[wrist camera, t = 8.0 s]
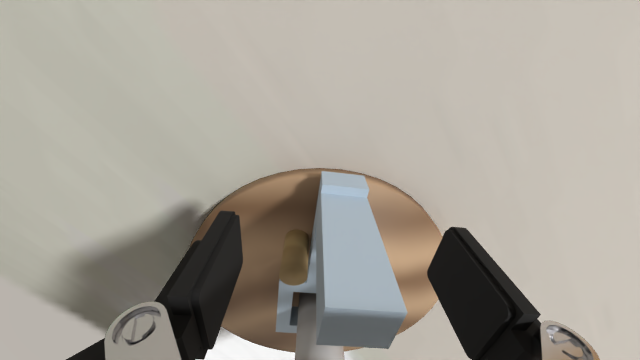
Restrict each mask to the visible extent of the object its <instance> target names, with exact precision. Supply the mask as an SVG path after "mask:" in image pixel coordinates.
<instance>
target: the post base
mask: <svg viewBox="0 0 640 360" xmlns="http://www.w3.org/2000/svg"><path fill="white" fill-rule="evenodd" d="M322 171H327V172H336V173H345V174H354V175H363V176H364V177H365V179H366V182H367V185H368V187H369V193H368V196H367V199H368V202H369V204H370V207H371V210H372V213H373V216H374V219H375V221H376V224H377V227H378V230H379V233H380V236H381V238H382V241H383V244H384V247H385V250H386V253H387V256H388V258H389V261H390V264H391V267H392V270H393V273H394V275H395V278H396V281H397V284H398V287H399V290H400V292H401V295H402V298H403V301H404V304H405V307H406V309H407V312H408V313H407V315H406V317H405V319H404V320H403V322H402V324H401V326H400V328H399V330H398V332H397V334H399V333H401V332H403V331H405V330H406V329H408V328H409V327H411V326H412V325H414V324H415V323H416V322H418V321H419V320H420V319H421V318H422V317H424V316H425V315H426V314H427V313H428V312H429V310H430V309H431V308H432V307H433V306H434V304H435V303H436V302H437V300H438V297H437V295H436V293H435V291H434V289H433V287H432V285H431V283H430V281H429V279H428V276H427V270H428V268H429V266H430V263H431V261H432V259H433V257H434V255H435V253H436V250H437V248H438V246H439V244H440V242H441V240H442V238H443V237H442V235H441V233H440V231H439V229H438V228H437V226H436V225H435V223H434V222H433V221H432V219H431V218H430V216H429V215H428V214H427V213H426V211H425V210H424V209H423V208H422V206H421V205H419V204H418V203H417V202H416V201H415V200H414V199H413V198H412V197H411V196H409V195H408V194H406V193H405V192H403V191H402V190H400V189H399V188H397V187H395V186H393V185H391V184H389V183H387V182H385V181H382V180H380V179H378V178H374V177H371V176H368V175H365V174H362V173H357V172H352V171H346V170H340V169H325V168H315V169H298V170H293V171H287V172H281V173H277V174H274V175H270V176H267V177H264V178H261V179H258V180H256V181H254V182H252V183H249V184H247V185H245V186H243V187H241V188H240V189H238V190H236V191H235V192H233V193H232V194H230V195H229V196H227V197H226V198H225V199H224V200H223V201H221V202H220V203H219V204H218V205H217V206H216V207H215V208H214V209H213V210H212V212H211V213H210V214H209V215H208V216H207V218H206V219H205V220H204V222H203V223H202V225H201V226H200V228H199V230H198V231H197V233H196V235H195V237H194V238H193V240H192V242H191V245H192V244H193V243H194V242H195V241H196V240H202V239H203V237H204V236H205V234H206V232H207V231H208V229H209V228H210V226H211V224H212V223H213V221H214V220H215V218H216V216H217V215H218V213H219V212H220V211H221V210H222V211H234V212H235V214H236V215H239V217H240V228H241V240H242V252H243V264H242V268H241V271H240V274H239V276H238V279H237V282H236V285H235V288H234V291H233V293H232V296H231V299H230V302H229V305H228V308H227V310H226V313H225V316H224V319H223V322H222V325H221V326H222V327H223V328H225V329H226V330H228V331H229V332H231V333H233V334H235V335H237V336H239V337H241V338H243V339H245V340H248V341H250V342H252V343H255V344H258V345H262V346H265V347H268V348H273V349H277V350H282V351H288V352H295V360H344V351H349V350H355V349H359V348H363V347H349V346H330V345H316V293H303V292H293V300H292V306H294V307H299V308H298V322H297V333H284V332H276V319H277V305H278V290H279V279H280V280H281V281H282V282H283V283H285V284H287V285H291V286H296V285H300V284H303V283H304V282H305V281H306V280H307V277H308V258H309V252H310V245H311V238H312V232H313V225H314V219H315V212H316V205H317V199H318V192H319V186H320V179H321V172H322ZM191 245H190V247H191ZM397 334H396V335H397Z"/></svg>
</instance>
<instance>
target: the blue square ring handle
mask: <svg viewBox="0 0 640 360" xmlns="http://www.w3.org/2000/svg"><path fill="white" fill-rule="evenodd" d="M368 193H369V187H368V185H367V182H366V179H365V177H364V176H363V175H354V174H345V173H336V172H327V171H322V172H321V179H320V186H319V192H318V199H317V205H316V212H315V219H314V225H313V232H312V238H311V245H310V252H309V258H308V277H307V280H306V281H305V282H304V283H303V284H300V285H296V286H291V285H287V284H285V283H283V282H282V281H281V280H280V279H279V290H278V305H277V319H276V332H284V333H297V322H298V308H299V307H294V306H292V300H293V292H303V293H316V345H330V346H349V347H368V348H387V349H389V347H390V345H391V343H392V341H393V339H394V337H395V336H396V334H397V332H398V330H399V328H400V326H401V324H402V322H403V320H404V319H405V317H406V315H407V313H408V312H407V309H406V307H405V304H404V301H403V298H402V295H401V292H400V290H399V287H398V284H397V281H396V278H395V275H394V273H393V270H392V267H391V264H390V261H389V258H388V256H387V253H386V250H385V247H384V244H383V241H382V238H381V236H380V233H379V230H378V227H377V224H376V221H375V219H374V216H373V213H372V210H371V207H370V204H369V202H368V199H367V196H368Z"/></svg>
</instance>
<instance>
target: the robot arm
mask: <svg viewBox="0 0 640 360" xmlns="http://www.w3.org/2000/svg"><path fill="white" fill-rule="evenodd" d="M242 264H243V252H242V240H241V228H240V217H239V215H236V214H235V212H234V211H222V210H221V211H220V212H219V213H218V215H217V216H216V218H215V220H214V221H213V223H212V224H211V226H210V228H209V229H208V231H207V232H206V234H205V236H204V237H203V239H202V240H196V241H195V242H194V243H193V244H192V245H191V247H190V248H189V250H188V251H187V253H186V254H185V256H184V258H183V259H182V261H181V262H180V264H179V265H178V267H177V268H176V270H175V271H174V273H173V274H172V276H171V277H170V279H169V280H168V282H167V283H166V285H165V286H164V288H163V289H162V291H161V292H160V294H159V296H158V297H157V299H156V300H155V302H153V301H150V302H143V303H140V304H138V305H135V306H133V307H131V308H129V309H128V310H126V311H124V312H123V313H122V314H121V315H119V316H118V317H117V318H116V319H115V320H114V322H113V323H112V324H111V325H110V327H109V328H108V330H107V332H106V335H105V338H104V339H102V340H100V341H99V342H97V343H95V344H93V345H91V346H90V347H88V348H86V349H85V350H83V351H81V352H79V353H77V354H75V355H74V356H72V357H70V358H68V359H66V360H195V359H204V358H205V355H206V353H207V350H208V349H212V348H213V347H214V344H215V342H216V339H217V336H218V333H219V330H220V327H221V325H222V322H223V319H224V316H225V313H226V310H227V308H228V305H229V302H230V299H231V296H232V293H233V291H234V288H235V285H236V282H237V279H238V276H239V274H240V271H241V268H242ZM427 276H428V279H429V281H430V283H431V285H432V287H433V289H434V291H435V293H436V295H437V297H438V299H439V301H440V303H441V305H442V307H443V309H444V311H445V313H446V315H447V317H448V319H449V321H450V323H451V325H452V327H453V329H454V331H455V333H456V335H457V337H458V339H459V341H460V343H461V345H462V347H463V349H464V351H465V353H466V354H467V356H468V357H469V358H470V359H472V360H600V359H599V357H598V355H597V353H596V352H595V350H594V349H593V348H592V346H591V345H590V344H589V343H588V342H587V341H586V340H585V339H584V338H583V337H581V336H580V335H579V334H577V333H576V332H575V331H573V330H572V329H570V328H568V327H567V326H565V325H562V324H560V323H558V322H554V321H544V322H542V323H540V322H539V320H538V319H537V318H538V317H539V316H540V315H541V314H540V313H539V312H538V311H537V310H536V309H535V307H534V306H533V305H532V304H531V303H530V302H529V301H528V299H527V298H526V297H525V296H524V295H523V294H522V292H521V291H520V290H519V289H518V288H517V287H516V285H515V284H514V283H513V282H512V281H511V280H510V279H509V277H508V276H507V275H506V274H505V273H504V272H503V270H502V269H501V268H500V267H499V266H498V265H497V263H496V262H495V261H494V260H493V259H492V258H491V257H490V255H489V254H488V253H487V252H486V251H485V250H484V248H483V247H482V246H481V245H480V244H479V243H478V242H477V240H476V239H475V238H474V237H473V236H472V235H471V233H470V232H469V231H468V230H467V229H466V228H459V227H451V228H449V230H446V231H445V233H444V235H443V238H442V240H441V242H440V244H439V246H438V248H437V250H436V253H435V255H434V257H433V259H432V261H431V263H430V266H429V268H428V270H427Z"/></svg>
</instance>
